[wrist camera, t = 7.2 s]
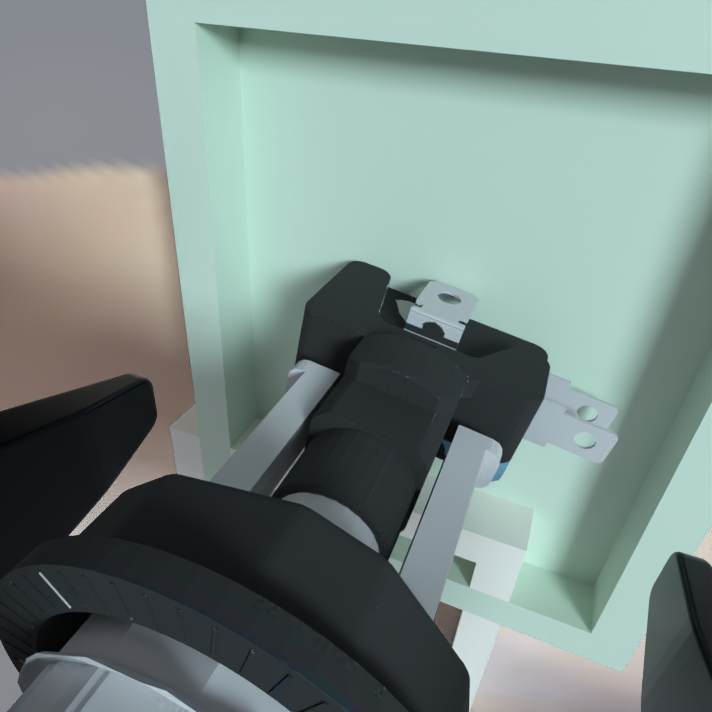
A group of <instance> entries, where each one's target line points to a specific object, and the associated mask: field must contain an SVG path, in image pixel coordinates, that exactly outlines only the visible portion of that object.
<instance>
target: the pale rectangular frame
mask: <svg viewBox="0 0 712 712" xmlns="http://www.w3.org/2000/svg"><path fill="white" fill-rule="evenodd" d="M261 422H262V420H260V419H256V420H255V421H254V422H253V423H252V424H251V425H250V426H249V428H248V429H247V430H246V431H245V432H244V433H243V434H242V435H241V437H240V438H239V439H238V440H237V441H236V442H235V443H234V444H233V446H232V447H231V448H230V451H231V456H232V455H233V454H234V452H235V451H236V450H237V449H238V448H239V447H240V446H241V444H242V443H243V442H244V441H245V440H246V439H247V438H248V436H249V435H250V434H251V433H252V432H253V431H254V430H255V428H256V427H257V426H258V425H259V424H260V423H261ZM170 434H171V440H172V446H173V452H174V459H175V465H176V471H177V474H180V475H185V476H189V477H193V478H197V479H201V480H204V472H203V463H202V455H201V447H200V439H199V431H198V423H197V415H196V406H195V404H194V405H193V406H191V407H190V408H189V409H188V410H187V411H186V412H185V413H184V414H183V415H182V416H181V417H180V418H178V419H177V420H176V421H175V422H174V423H173V424H172V425H171V426H170ZM304 449H305V447H304ZM304 449H303V450H302V451H301V453H300V454H299V456H298V457H297V458H296V460H295V461H294V462H293V464H292V465H291V467H290V468H289V469H288V471H287V472H286V474H285V475H284V476H283V478H282V479H281V480H280V482H279V483H278V485H277V486H276V487H275V489H274V490H276V489H277V488H278V486H279V485H280V484H281V482H282V481H283V480H284V478H285V477H286V475H287V474H288V473H289V471H290V470H291V468H292V467H293V466H294V464H295V463H296V461H297V460H298V459H299V457H300V456H301V454H302V453H303V452H304ZM436 478H437V477H435V476H432V475H429V474H428V476H427V478H426V481H425V483H424V485H423V488H422V490H421V492H420V495H419V497H418V500H417V502H416V504H415V507H414V509H413V511H412V514H411V516H410V519H409V521H408V523H407V526H406V528H405V530H403V531H401V532H400V534H399V535H401V536H404V537H406V538H409V539H413V536H414V534H415V531H416V528H417V526H418V523H419V521H420V518H421V516H422V513H423V511H424V508H425V506H426V503H427V501H428V498H429V496H430V493H431V490H432V488H433V485H434V483H435V480H436ZM533 512H534V509H533V508H530V507H527V506H524V505H521V504H518V503H515V502H512V501H509V500H505V499H502V498H499V497H496V496H493V495H490V494H487V493H484V492H481V491H478V490H475V489H474V492H473V495H472V498H471V502H470V505H469V508H468V511H467V515H466V518H465V521H464V524H463V527H462V531H461V534H460V537H459V540H458V544H457V547H456V550H455V553H454V555H456V556H459V557H461V558H464V559H467V560H470V561H472V562H475V563H476V565H475V569H474V572H473V576H472V580H471V584H470V588H472V589H475V590H477V591H480V592H483V593H485V594H488V595H491V596H493V597H496V598H499V599H501V600H504V601H506V602H509V599H510V597H511V594H512V591H513V588H514V585H515V583H516V580H517V577H518V574H519V571H520V569H521V566H522V563H523V560H524V557H525V555H526V552H527V546H528V541H529V535H530V529H531V524H532V518H533ZM499 628H500V625H499V624H497V623H494V622H492V621H489V620H487V619H484V618H482V617H479V616H476V615H474V614H471V613H469V612H466V611H464V610H462V612H461V615H460V619H459V623H458V626H457V630H456V633H455V637H454V640H453V644H452V648H453V649H454V651H455V652H456V653H457V655H458V656H459V657H460V659H461V660H462V662H463V663H464V664H465V666H466V668H467V670H468V673H469V676H470V697H469V712H470V709H471V706H472V703H473V701H474V698H475V695H476V692H477V689H478V687H479V684H480V681H481V678H482V675H483V672H484V670H485V667H486V664H487V661H488V658H489V656H490V653H491V650H492V647H493V644H494V642H495V639H496V636H497V633H498V630H499Z"/></svg>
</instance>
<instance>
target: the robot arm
mask: <svg viewBox="0 0 712 712" xmlns="http://www.w3.org/2000/svg"><path fill="white" fill-rule="evenodd" d="M156 418H157V410H156V404H155V398H154V392H153V386H152V383H151V382H150V381H149V380H148V379H146V378H143V377H140V376H137V375H134V374H125V375H122V376H119V377H115V378H112V379H108V380H105V381H102V382H98V383H95V384H92V385H88V386H85V387H81V388H78V389H75V390H71V391H68V392H64V393H61V394H58V395H54V396H51V397H47V398H44V399H41V400H37V401H34V402H30V403H27V404H24V405H20V406H17V407H13V408H10V409H7V410H3V411H0V580H1V579H2V578H3V577H4V576H5V575H6V574H7V573H8V572H9V571H10V570H12V569H13V568H14V567H15V566H16V565H17V564H18V563H19V562H20V561H21V560H22V559H24V558H25V557H26V556H27V555H28V554H29V553H30V552H31V551H32V550H33V549H34V548H35V547H37V546H39V545H41V544H42V543H44V542H46V541H49V540H52V539H56V538H59V537H65V536H69V535H70V534H71V532H72V531H73V530H74V529H75V528H76V527H77V526H78V524H79V523H80V522H81V521H82V520H83V519H84V517H85V516H86V515H87V514H88V513H89V512H90V510H91V509H92V508H93V507H94V506H95V505H96V504H97V502H98V501H99V500H100V499H101V498H102V496H103V495H104V494H105V493H106V492H107V490H108V489H109V488H110V486H111V485H112V484H113V482H114V481H115V480H116V478H117V477H118V476H119V474H120V473H121V471H122V470H123V468H124V467H125V466H126V464H127V463H128V461H129V460H130V459H131V457H132V456H133V454H134V453H135V451H136V450H137V449H138V447H139V446H140V444H141V443H142V442H143V440H144V439H145V437H146V436H147V434H148V433H149V432H150V430H151V429H152V427H153V426H154V424H155V421H156ZM641 712H712V566H711V565H710V564H709V563H708V562H707V561H705V560H704V559H701V558H698V557H695V556H692V555H689V554H686V553H683V552H674V553H673V554H672V555H671V556H670V557H669V559H668V560H667V562H666V564H665V566H664V567H663V569H662V571H661V573H660V574H659V576H658V578H657V579H656V581H655V583H654V585H653V587H652V590H651V593H650V598H649V608H648V620H647V632H646V645H645V657H644V669H643V681H642V696H641Z"/></svg>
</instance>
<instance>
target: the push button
mask: <svg viewBox="0 0 712 712" xmlns="http://www.w3.org/2000/svg"><path fill="white" fill-rule="evenodd" d="M390 279H391V276H390V274H389V273H388V272H387V271H385V270H384V269H382V268H379V267H376V266H374V265H371V264H368V263H366V262H362V261H352V262H350V263H348V264H347V265H346V266H345V267H344V268H343V269H342V270H341V271H339V272H338V273H337V274H336V275H335V276H334V277H333V278H332V279H331V280H330V281H329V282H328V283H327V284H325V285H324V286H323V287H322V288H321V289H320V290H319V291H318V292H317V293H316V294H315V295H314V296H313V297H311V298H310V299H309V300H308V301H307V302H306V305H305V311H304V316H303V322H302V327H301V333H300V338H299V344H298V350H297V355H296V361H295V366H294V367H293V368H292V369H291V370H290V372H289V374H288V378H287V383H286V389H285V395H284V396H283V397H282V399H281V400H280V401H279V402H278V403H277V404H276V405H275V407H274V408H273V409H272V410H271V411H270V412H269V413H268V415H267V416H266V417H265V418H264V419H263V420H262V422H261V423H260V424H259V425H258V426H257V427H256V428H255V430H254V431H253V432H252V433H251V434H250V435H249V436H248V438H247V439H246V440H245V441H244V442H243V443H242V444H241V446H240V447H239V448H238V449H237V450H236V451H235V452H234V454H233V455H232V456H231V457H230V458H229V459H228V460H227V462H226V463H225V464H224V465H223V466H222V467H221V468H220V470H219V471H218V472H217V473H216V474H215V475H214V476H213V478H212V479H211V480H210V481H205V480H201V479H197V478H193V477H189V476H185V475H180V474H170V475H166V476H163V477H161V478H158V479H155V480H152V481H150V482H147V483H144V484H142V485H139V486H136V487H134V488H131V489H128V490H126V491H125V492H123V493H122V494H121V495H120V496H119V497H118V498H117V499H116V500H114V501H113V502H112V503H111V504H110V505H109V506H108V507H107V508H106V509H105V510H104V511H103V512H102V513H101V514H100V515H99V516H98V517H97V518H96V519H95V520H94V521H93V522H92V523H91V524H90V525H89V526H88V527H87V528H86V529H85V530H84V531H82V532H81V533H80V534H79V535H75V536H65V537H59V538H56V539H52V540H49V541H46V542H44V543H42V544H41V545H39V546H37V547H35V548H34V549H33V550H32V551H31V552H30V553H29V554H28V555H27V556H26V557H25V558H24V559H22V560H21V561H20V562H19V563H18V564H17V565H16V566H15V567H14V568H13V569H12V570H10V571H9V572H8V573H7V574H6V575H5V576H4V577H3V578H2V579H1V580H0V640H1V642H2V644H3V646H4V648H5V650H6V652H7V654H8V656H9V657H10V659H11V661H12V662H13V664H14V666H15V667H16V669H17V670H18V672H19V673H20V674H19V679H18V684H19V686H20V689H21V691H22V692H23V694H22V695H21V696H20V698H19V699H18V700H17V701H16V702H15V703H14V704H13V706H12V707H11V708H10V709H9V710H8V711H7V712H469V697H470V676H469V673H468V670H467V668H466V666H465V664H464V663H463V662H462V660H461V659H460V657H459V656H458V655H457V653H456V652H455V651H454V649H453V648H452V646H451V645H450V644H449V642H448V641H447V640H446V638H445V637H444V635H443V634H442V633H441V631H440V630H439V629H438V627H437V626H436V625H435V623H434V622H433V621H434V618H435V615H436V611H437V608H438V605H439V602H440V599H441V595H442V592H443V589H444V586H445V582H446V579H447V576H448V573H449V569H450V566H451V563H452V560H453V557H454V553H455V550H456V547H457V544H458V540H459V537H460V534H461V531H462V527H463V524H464V521H465V518H466V515H467V511H468V508H469V505H470V502H471V498H472V495H473V492H474V489H475V487H477V488H482V487H486V486H487V485H489V484H490V482H492V481H497V480H499V479H500V478H501V477H502V475H503V473H504V472H505V470H506V468H507V466H508V464H509V462H510V460H511V459H512V457H513V455H514V453H515V451H516V449H517V448H518V446H519V444H520V442H521V440H522V438H523V439H525V440H528V441H530V442H532V443H535V444H537V445H539V446H542V447H545V445H546V444H547V443H550V444H552V445H555V446H557V447H559V448H562V449H564V450H566V451H569V452H571V453H574V454H576V455H578V456H581V457H583V458H585V459H588V460H590V461H592V462H595V463H601V462H603V461H604V460H605V458H606V457H607V455H608V454H609V452H610V451H611V449H612V448H613V447H614V445H615V444H616V442H617V441H618V437H617V435H616V433H615V432H612V431H610V430H607V429H608V427H609V426H610V424H611V423H612V421H613V420H614V418H615V417H616V415H617V414H618V409H617V407H616V406H615V405H612V404H610V403H607V402H605V401H602V400H600V399H597V398H595V397H592V396H590V395H587V394H585V393H582V392H580V391H577V390H575V389H572V388H570V387H569V385H570V383H571V381H569V380H567V379H564V378H562V377H559V376H557V375H554V374H552V373H549V372H550V365H549V362H548V361H547V360H548V354H547V352H546V351H545V350H544V349H543V348H541V347H540V346H538V345H536V344H534V343H531V342H529V341H526V340H523V339H521V338H518V337H516V336H513V335H511V334H508V333H505V332H503V331H500V330H498V329H495V328H493V327H490V326H487V325H485V324H482V323H480V322H477V321H474V320H472V319H470V317H471V315H472V313H473V311H474V309H475V307H476V305H477V302H478V299H477V298H476V297H475V296H474V295H473V294H471V293H469V292H466V291H463V290H461V289H458V288H456V287H453V286H450V285H448V284H445V283H442V282H440V281H429V283H428V284H427V286H426V287H425V289H424V290H423V291H422V293H421V294H420V296H419V297H418V298H415V297H413V296H410V295H408V294H405V293H402V292H400V291H397V290H395V289H392V288H390V287H389V283H390ZM442 294H443V295H449V296H452V297H454V298H456V299H457V300H458V301H459V302H460V304H457V305H453V304H448V303H445V302H443V301H442V300H440V299H439V297H438V295H442ZM581 406H591V407H593V408H595V409H596V411H597V412H598V415H597V416H596V418H594V419H592V420H585V419H582V418H580V417H579V416H578V414H577V410H578V408H580V407H581ZM580 432H587V433H590V434H592V435H593V436H594V437H595V439H596V442H595V444H594V445H592V446H589V447H583V446H580V445H578V444H577V443H576V442H575V441H574V436H575V435H576V434H578V433H580ZM304 447H305V449H304ZM303 449H304V452H303V453H302V454H301V456H300V457H299V459H298V460H297V461H296V463H295V464H294V466H293V467H292V468H291V470H290V471H289V473H288V474H287V475H286V477H285V478H284V480H283V481H282V482H281V484H280V485H279V486H278V488H277V489H276V491H275V492H274V494H273V495H272V497H271V496H270V494H271V493H272V492H273V490H274V489H275V487H276V486H277V485H278V483H279V482H280V480H281V479H282V478H283V476H284V475H285V474H286V472H287V471H288V469H289V468H290V467H291V465H292V464H293V462H294V461H295V460H296V458H297V457H298V456H299V454H300V453H301V451H302V450H303ZM435 457H437V458H439V459H441V460H443V463H442V465H441V468H440V470H439V473H438V475H437V478H436V480H435V483H434V485H433V488H432V490H431V493H430V496H429V498H428V501H427V503H426V506H425V508H424V511H423V513H422V516H421V518H420V521H419V523H418V526H417V528H416V531H415V534H414V536H413V539H412V541H411V544H410V546H409V549H408V551H407V554H406V556H405V559H404V561H403V564H402V566H401V569H400V572H399V574H398V572H397V571H396V570H395V568H394V567H393V565H392V564H391V563H390V562H389V561H388V560H389V558H390V556H391V553H392V551H393V549H394V546H395V544H396V542H397V539H398V537H399V534H400V532H401V531H403V530H405V528H406V526H407V523H408V521H409V519H410V516H411V514H412V511H413V509H414V507H415V504H416V502H417V500H418V497H419V495H420V492H421V490H422V488H423V485H424V483H425V481H426V478H427V476H428V474H429V471H430V469H431V466H432V464H433V462H434V459H435Z"/></svg>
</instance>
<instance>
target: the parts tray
mask: <svg viewBox="0 0 712 712" xmlns="http://www.w3.org/2000/svg"><path fill="white" fill-rule="evenodd" d="M146 7H147V15H148V23H149V32H150V38H151V39H150V40H151V48H152V55H153V64H154V71H155V80H156V89H157V97H158V105H159V113H160V121H161V129H162V138H163V146H164V154H165V161H166V170H167V178H168V186H169V195H170V203H171V211H172V219H173V227H174V235H175V243H176V252H177V260H178V268H179V276H180V284H181V292H182V300H183V309H184V317H185V325H186V333H187V341H188V349H189V358H190V366H191V374H192V382H193V390H194V398H195V406H196V415H197V423H198V431H199V439H200V447H201V455H202V463H203V472H204V480H205V481H210V480H211V479H212V478H213V476H214V475H215V474H216V473H217V472H218V471H219V470H220V468H221V467H222V466H223V465H224V464H225V463H226V462H227V460H228V459H229V458H230V457H231V451H230V448H231V447H232V446H233V444H234V443H235V442H236V441H237V440H238V439H239V438H240V437H241V435H242V434H243V433H244V432H245V431H246V430H247V429H248V428H249V426H250V425H251V424H252V423H253V422H254V421H255V420H256V419H260V420H263V419H264V418H265V417H266V416H267V415H268V413H269V412H270V411H271V410H272V409H273V408H274V407H275V405H276V404H277V403H278V402H279V401H280V400H281V399H282V397H283V396H284V395H285V389H286V383H287V378H288V374H289V372H290V370H291V369H292V368H293V367H294V366H295V361H296V355H297V350H298V344H299V338H300V333H301V327H302V322H303V316H304V311H305V305H306V302H307V301H308V300H309V299H310V298H311V297H313V296H314V295H315V294H316V293H317V292H318V291H319V290H320V289H321V288H322V287H323V286H324V285H325V284H327V283H328V282H329V281H330V280H331V279H332V278H333V277H334V276H335V275H336V274H337V273H338V272H339V271H341V270H342V269H343V268H344V267H345V266H346V265H347V264H348V263H350V262H352V261H362V262H366V263H368V264H371V265H374V266H376V267H379V268H382V269H384V270H385V271H387V272H388V273H389V274H390V276H391V279H390V283H389V287H390V288H392V289H395V290H397V291H400V292H402V293H405V294H408V295H410V296H413V297H415V298H418V297H419V296H420V294H421V293H422V291H423V290H424V289H425V287H426V286H427V284H428V283H429V281H440V282H442V283H445V284H448V285H450V286H453V287H456V288H458V289H461V290H463V291H466V292H469V293H471V294H473V295H474V296H475V297H476V298H477V299H478V302H477V305H476V307H475V309H474V311H473V313H472V315H471V317H470V319H472V320H474V321H477V322H480V323H482V324H485V325H487V326H490V327H493V328H495V329H498V330H500V331H503V332H505V333H508V334H511V335H513V336H516V337H518V338H521V339H523V340H526V341H529V342H531V343H534V344H536V345H538V346H540V347H541V348H543V349H544V350H545V351H546V352H547V354H548V360H547V361H548V362H549V365H550V372H549V373H552V374H554V375H557V376H559V377H562V378H564V379H567V380H569V381H571V383H570V385H569V387H570V388H572V389H575V390H577V391H580V392H582V393H585V394H587V395H590V396H592V397H595V398H597V399H600V400H602V401H605V402H607V403H610V404H612V405H615V406H616V407H617V409H618V414H617V415H616V417H615V418H614V420H613V421H612V423H611V424H610V426H609V427H608V429H607V430H610V431H612V432H615V433H616V435H617V437H618V441H617V442H616V444H615V445H614V447H613V448H612V449H611V451H610V452H609V454H608V455H607V457H606V458H605V460H604V461H603V462H601V463H595V462H592V461H590V460H588V459H585V458H583V457H581V456H578V455H576V454H574V453H571V452H569V451H566V450H564V449H562V448H559V447H557V446H555V445H552V444H550V443H547V444H546V445H545V447H542V446H539V445H537V444H535V443H532V442H530V441H528V440H525V439H523V438H522V440H521V442H520V444H519V446H518V448H517V449H516V451H515V453H514V455H513V457H512V459H511V460H510V462H509V464H508V466H507V468H506V470H505V472H504V473H503V475H502V477H501V478H500V479H499V480H497V481H492V482H490V484H489V485H487V486H486V487H482V488H477V487H475V490H478V491H481V492H484V493H487V494H490V495H493V496H496V497H499V498H502V499H505V500H509V501H512V502H515V503H518V504H521V505H524V506H527V507H530V508H533V509H534V512H533V518H532V524H531V529H530V535H529V541H528V546H527V552H526V555H525V557H524V560H523V563H522V566H521V569H520V571H519V574H518V577H517V580H516V583H515V585H514V588H513V591H512V594H511V597H510V599H509V602H506V601H504V600H501V599H499V598H496V597H493V596H491V595H488V594H485V593H483V592H480V591H477V590H475V589H472V588H470V584H471V580H472V576H473V572H474V569H475V565H476V563H475V562H472V561H470V560H467V559H464V558H461V557H459V556H456V555H454V557H453V560H452V563H451V566H450V569H449V573H448V576H447V579H446V582H445V586H444V589H443V592H442V595H441V599H440V601H441V602H443V603H446V604H448V605H451V606H453V607H456V608H458V609H461V610H464V611H466V612H469V613H471V614H474V615H476V616H479V617H482V618H484V619H487V620H489V621H492V622H494V623H497V624H499V625H502V626H505V627H507V628H510V629H512V630H515V631H517V632H520V633H523V634H525V635H528V636H530V637H533V638H535V639H538V640H540V641H543V642H546V643H548V644H551V645H553V646H556V647H558V648H561V649H563V650H566V651H569V652H571V653H574V654H576V655H579V656H581V657H584V658H587V659H589V660H592V661H594V662H597V663H599V664H602V665H604V666H607V667H610V668H612V669H615V670H617V671H620V672H622V671H623V670H624V668H625V666H626V665H627V663H628V661H629V660H630V658H631V657H632V655H633V653H634V652H635V650H636V648H637V647H638V645H639V644H640V642H641V640H642V639H643V637H644V635H645V634H646V632H647V620H648V608H649V598H650V593H651V590H652V587H653V585H654V583H655V581H656V579H657V578H658V576H659V574H660V573H661V571H662V569H663V567H664V566H665V564H666V562H667V560H668V559H669V557H670V556H671V555H672V554H673V553H674V552H683V553H686V554H689V555H692V556H694V554H695V552H696V551H697V549H698V548H699V546H700V544H701V543H702V541H703V539H704V538H705V536H706V535H707V533H708V531H709V530H710V528H711V526H712V0H146ZM438 297H439V299H440V300H442V301H443V302H445V303H448V304H453V305H457V304H460V302H459V301H458V300H457V299H456V298H454V297H452V296H449V295H443V294H442V295H438ZM577 414H578V416H579V417H580V418H582V419H585V420H592V419H594V418H596V416H597V415H598V412H597V411H596V409H595V408H593V407H591V406H581V407H580V408H578V410H577ZM574 441H575V442H576V443H577V444H578V445H580V446H583V447H589V446H592V445H594V444H595V442H596V439H595V437H594V436H593V435H592V434H590V433H587V432H580V433H578V434H576V435H575V436H574ZM442 463H443V460H441V459H439V458H437V457H435V459H434V462H433V464H432V466H431V469H430V471H429V475H432V476H435V477H437V475H438V473H439V470H440V468H441V465H442ZM275 491H276V490H273V492H272V493H271V494H270V496H271V497H272V495H273V494H274V492H275ZM411 541H412V539H409V538H406V537H404V536H401V535H399V537H398V539H397V542H396V544H395V546H394V549H393V551H392V553H391V556H390V558H389V560H388V561H389V562H390V563H391V564H392V565H393V567H394V568H395V570H396V571H397V572H398V574H399V572H400V569H401V566H402V564H403V561H404V559H405V556H406V554H407V551H408V549H409V546H410V544H411Z"/></svg>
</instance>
